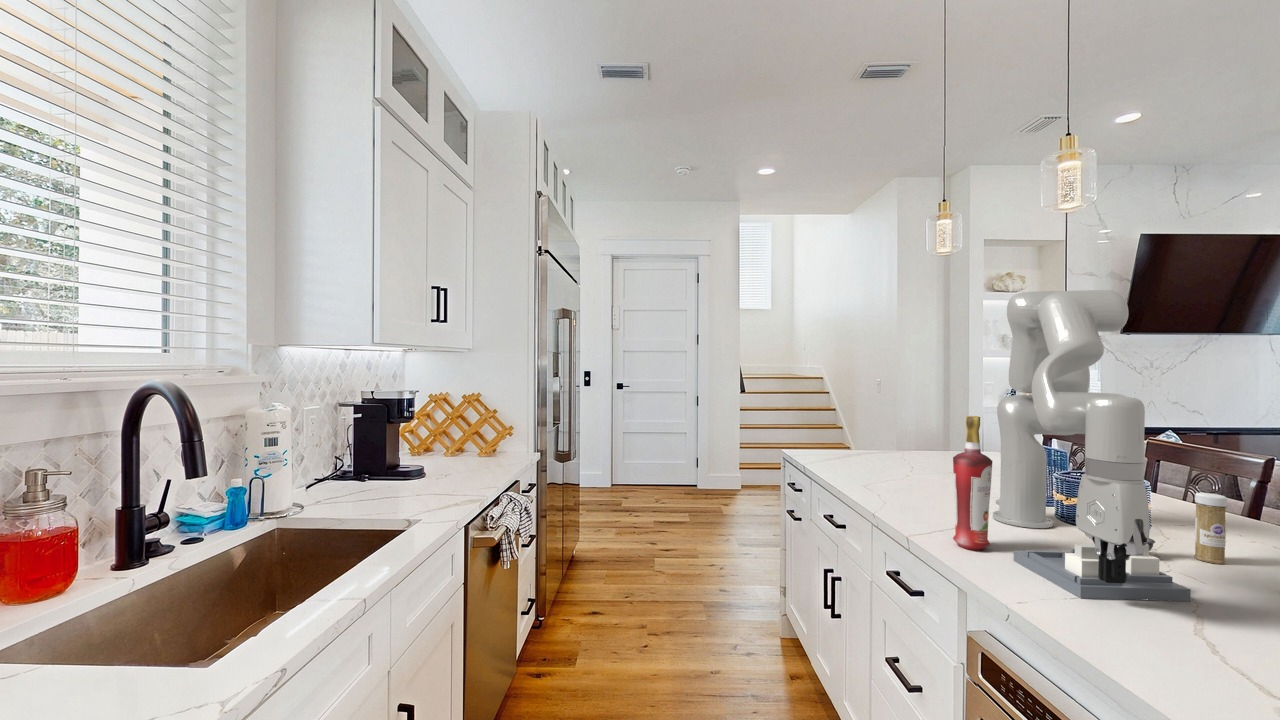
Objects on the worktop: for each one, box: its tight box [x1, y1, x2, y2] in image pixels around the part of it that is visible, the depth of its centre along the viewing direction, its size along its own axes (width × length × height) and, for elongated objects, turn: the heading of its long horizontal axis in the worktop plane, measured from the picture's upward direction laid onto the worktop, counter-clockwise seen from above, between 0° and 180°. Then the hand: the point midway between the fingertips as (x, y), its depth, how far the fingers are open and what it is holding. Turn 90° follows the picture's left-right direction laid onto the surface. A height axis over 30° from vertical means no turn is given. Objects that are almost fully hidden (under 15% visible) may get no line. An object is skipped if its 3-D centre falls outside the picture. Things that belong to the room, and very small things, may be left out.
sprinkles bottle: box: [1193, 492, 1228, 565], centre depth 115 cm, size 5×5×14 cm
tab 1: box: [1065, 543, 1099, 578], centre depth 99 cm, size 4×5×6 cm
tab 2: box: [1126, 544, 1160, 575], centre depth 101 cm, size 4×5×6 cm
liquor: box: [952, 415, 993, 551], centre depth 122 cm, size 7×7×28 cm
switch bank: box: [1013, 547, 1192, 602], centre depth 104 cm, size 18×18×3 cm
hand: (1111, 581), depth 94 cm, fingers closed
